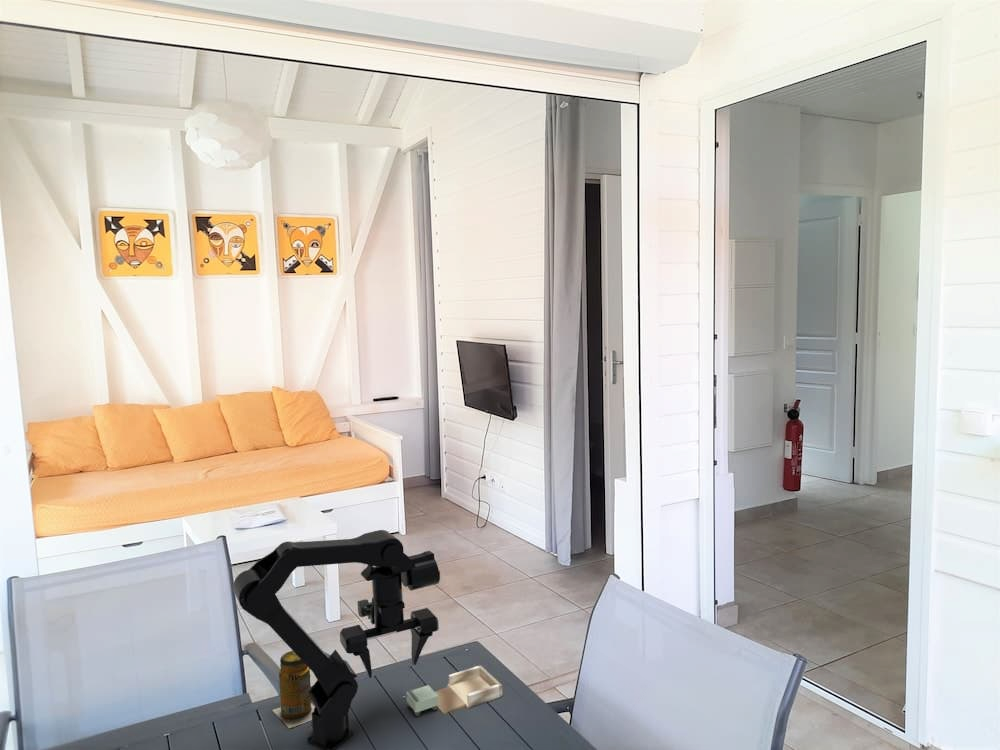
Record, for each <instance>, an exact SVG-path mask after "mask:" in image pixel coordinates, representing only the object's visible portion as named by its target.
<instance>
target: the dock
mask: <svg viewBox="0 0 1000 750" xmlns="http://www.w3.org/2000/svg"><path fill="white" fill-rule="evenodd" d="M434 692H435V693H436V694H437V695H438V707H437V709H439V710H440V711H441V712H442V714H448V713H451V712H454V711H457V710H460V709H463V708H465V707H466V708H467V709H468V708H472V707H475V706H478V705H481V704H484V703H486V702H489V701H493V700H496V699H498V698H502V697H503V685H502V684H501V683H500V682H499V680H497V679H496V678H495V677H494V676H493V675H492V674H491V673H489V671H487V670H486V668H484V667H483V666H482V665H481V664H480V665H477V666H473V667H470V668H467V669H464V670H461V671H456V672H454V673H451V674H448V683H447V685H446V686H445V687H444V688H441V689H438V690H436V691H434Z"/></svg>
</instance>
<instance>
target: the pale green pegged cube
mask: <svg viewBox="0 0 1000 750" xmlns="http://www.w3.org/2000/svg"><path fill="white" fill-rule="evenodd" d="M435 692H436V691H434V689H433V688H432V687H431V686H430V685H428V684H427V685H425V686H422V687H418V688H415V689H408V691H406V692H405V693H406V694H405V696H406V697H405V698H406V703H407V707H409V708H411V709H412V710H413V714H414V715H415V716H416V717H419V716H420V715H421V712H422V711H426V710H428V709H432V711H436V710H437V709H438V695H437V694H436V693H435Z"/></svg>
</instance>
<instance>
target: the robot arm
mask: <svg viewBox="0 0 1000 750" xmlns="http://www.w3.org/2000/svg"><path fill="white" fill-rule="evenodd" d="M404 551H405V550H404V546H403V543H402V541H400V540H399V538H397V537H395V536H394V535H393V534H392V533H391V532H389V531H387V530H385V529H379V530H375V531H370V532H366V533H363V534H361V535H358V536H357V537H353V538H344V539H329V540H328V539H326V540H311V541H297V542H296V541H294V542H293V541H284V542H282V543H280V544H279V545H278V546H277V547H276V548H274V550H273V551H271V552H270V553H268V554H267V555H264V556H263V557H262V558H260V559H259V560H257V561H256V562H255V563H254V564H253V565H252V566H251V567H250V568H248V569H246V570H244V571H241V573H239V574H238V575H237V576H236V578H235V579H234V581H233V584H232V591H233V593H234V595H235V597H236V599H237V602H238V603H239V605H240V607H241V608H242V610H244V611H245V612H246V613H248V614H249V615H251V616H252V617H253V618H255V619H256V620H258V621H260V622H262V623H265V624H266V625H268V626H269V627H270V628H271V629H272V630H273V631H274V633H276V635H278V637H279V638H280V639H281V640H282V641H283V642H284V643H285V644H286V645H287V646H288V648H290V649H291V651H294V652H295V654H296V655H297V656H298V657H299V658H300V659H301V660H302V661H303V662H304V663H305V664H306V665H307V666H308V667H309V668H310V672H312V673H313V675H314V677H315V679H316V681H315V682H314V684H313V685H312V686H311V689H310V690H309V692H308V694H309V696H310V698H311V703H312V704H313V705H314V706H315V708H314V712H313V713H312V720H311V726H312V734H311V735H310V736H309V737H307V739H306V740H307V743H308V744H312V745H314V746H317V747H318V748H321V749H324V750H335V749H337V748H338V747H340V746H341V745H342V744H344V743H345V742H346V741H347V740H349V739H350V738H351V737H352V736H353V735H355V731H354V729H351V728H350V726H349V725H350V724H349V723H350V721H349V711H350V708H351V705H352V702H353V699H354V698H355V696H356V695H357V693H358V687H359V683H358V682H357V679H356V678H357V677H358V675H357V674H356V672H355V671H354V669H353V668H352V666H350V664H349V662H348V661H347V660H346V659H343V657H342V656H341V655H340V654H339V652H338V651H337V649H334V651H333V652H332V653H331V654H329V653H327V652H326V651H324V650H323V648H321V647H320V646H319V645H318V643H316V641H315V640H314V639H313V638H312V637H311V636H310V635H309V634H308V632H306V631H305V629H304V628H303V626H301V625H300V624H299V622H298V621H297V620H296V619H294V617H293V616H292V615H291V614H290V613H289V611H287V610H286V608H285V607H284V606H283V605H282V604H281V602H280V600H279V598H278V597H277V593H278V592H279V591H280V590H281V589H282V587H283V586H284V584H285V583H286V582H287V580H288V579H289V577H290V576H291V574H292V573H293V572H294V571H295V570H296V569H297V568H300V567H301V568H302V567H313V566H316V567H317V566H325V565H326V566H328V565H329V566H330V565H339V564H340V565H341V564H351V563H357V564H363V565H367V566H366V568H364V569H363V570H362V571H361V572H360V576H361V577H363V579H364V580H365V581H366V582H370V581H371V586H372V597H371V602H369V600H368V599H365V598H364V599H361V600H358V601H357V612H358V616H359V617H360V618H364V617H367V619H368V620H370V623H371V624H372V625H374V627H372V628H368V629H363V627H362V626H361V625H360V624H356V625H352V626H348V627H344V628H342V629H341V631H340V632H339V642H340V644H341V645H342V647H343V648H344V651H345V652H346V654H352V655H353V656H355V657H357V656H359V658H360V660H361V663H362V665H363V667H364V670H365V671H366V674H367V676H368V678H372V676H373V675H372V673H373V670H372V664H371V663H372V661H371V655H370V649H369V648H368V641H369V640H370V641H371V640H373V639H378V638H381V637H385V636H389V635H393V634H397V633H401V632H404V631H408V630H410V633H411V664H412V665H413V666H416V665H417V663H418V661H419V658H420V656H421V653H422V651H423V649H424V647H425V645H426V643H427V641H428V639H429V638H430V637H432V636H433V634H434V632H438V631H439V619H438V617H437V616H436V615H435V614H434V613H433V612H432V610H431V609H429V608H428V607H425V608H420V609H418V610H413V611H411V612H410V618H409V619H404V609H405V608H406V606H405V602H404V601H403V586H404V587H405V588H408V589H409V591H411V592H412V591H415V590H420V589H424V588H427V587H431V586H435V585H438V584H439V582H440V581H441V572H440V570H439V566H438V563H437V560H436V559H435V553H433V552H432V551H431V550H426V551H424V552H421V553H416V554H414V555H409V556H408V554H406V553H404Z"/></svg>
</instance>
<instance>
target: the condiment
mask: <svg viewBox="0 0 1000 750" xmlns="http://www.w3.org/2000/svg"><path fill="white" fill-rule="evenodd" d="M279 661H280V664H279V665H280V670H279V672H278V678H279V679H278V680H279V698H280V706H279V707H277V708H273V709H272V712H273V713H274V714H275V715H276V717H277V718H278V719H279V720H280V721H281V722H283V723H284V725H285V726H286V727H287V728H288V729H291V728H295V727H297V726H299V725H303V724H305V723H307V722H310V721H312V713H313V712H314V708H315V705H314V703H313V702H312V700H311V698H310V696H309V694H308V692H309V690H310V689H311V688H312V686H311V673H310V672H311V670H310V668H309V667H308V666H307V665H306V664H305V663H304V662H303V661H302V660H301V659H300V658H299V657H298V656H297V655H296V654H295V652H294V651H293V650H290V651H287V652H286V653H284V654H283V655H281V657H280V660H279Z"/></svg>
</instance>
